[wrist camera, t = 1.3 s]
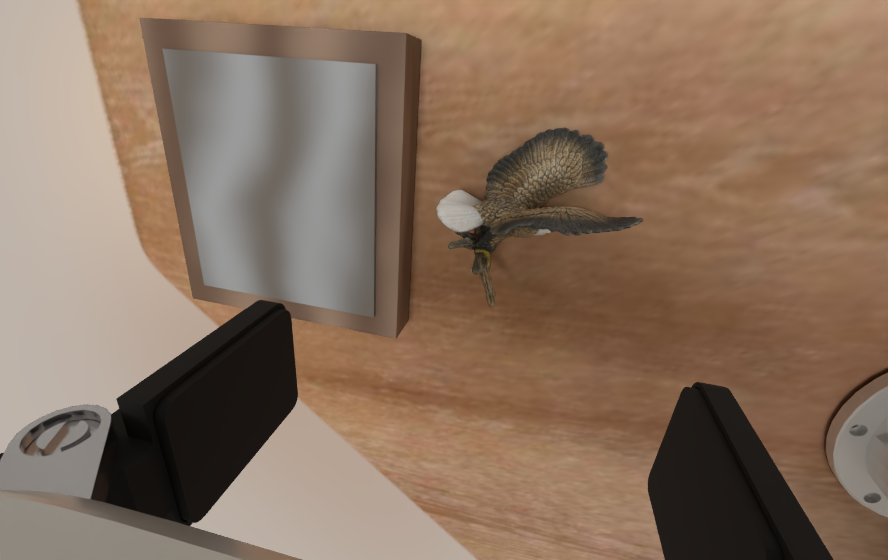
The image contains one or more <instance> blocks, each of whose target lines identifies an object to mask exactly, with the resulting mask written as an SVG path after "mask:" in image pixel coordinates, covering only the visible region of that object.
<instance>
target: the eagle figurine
mask: <svg viewBox="0 0 888 560" xmlns="http://www.w3.org/2000/svg"><path fill="white" fill-rule="evenodd" d="M603 149H604V144H603V143H601V142H595V141H594V137H593V136H591V135H583V136H579V131H577V130H574V131H571V132H570V131H569V129H567V128H557V129H555V130H550V129H549V130H547V131H546V132H544V133H539V134H537V136H536V137H535V138H532V139H531V140H529V141H527V142H526V143H525V144H524V145H523V147H519V148H518V149H517V150H515V151H513V152H512V153H511V154H510V155H509V156H505V157H504V158H502V159H500V160H499V161H498V163H496V164H495V165H494V167H493V169H492V170H491V171H490V172H489V173H488V177H487V179H486V180H487V182H488V184H487V186H486V190H487V191H488V192H487V193H486V194H485V199H486V200H484V201H481V200H479V199H477V198H475V197H473V196H471V195H470V194H468V193H467V192H465V191H463V190H455V191H452V192H451V193H450V194H448V195H447V196H446V197H444V198H442V199H441V200H440V202H439V205H438V206H437V207H436V210H437V216H438V218H439V219H440V220H441V221H442V223H443V224H444V225H445V226H447V227H448V228H449V229H451V230H453V231H455V232H456V234H458V235H460V236H462V237H463V238H464V239H462V240H459V241H455V242H451V243H450V244H449V246H448V247H449V248H450V249H452V248H457V247H465V248H468V249H470V250H473V249H474V253H475V261H474V264H473V267H472V272H473V273H474V274H480V277H481V280H482V282H483V285H484V288H485V291H486V298H487V302H488V305H489V307H493V305H494V302H495V291H494V288H493V285H492V280H491V276H490V273H489V269H490V266H491V253H492V252H493V251H494V250H495V248H496V244H497V243H498V242H500V241H501V240H503V239H505V238H507V237H510V236H515V237H527V236H533V235H544V234H547V235H548V234H550V232H553V231H559V232H560V233H562V234H564V235H572V234H573V235H581V233H586V234H590V233H600V232H610V231H620V230H623V229H626V228H630V227H631V226H633V225H637V224H639V223H640V222H642V221H643V220H644V219H642V218H636V217H620V218H610V217H605V216H602V215H600V214H598V213H595V212H592V211H590V210H587V209H583V208H580V207H557V206H556V207H544V208H539V207H540V206H541V205H542V204H544V203H545V202H547V201H548V200H549V199H551V198H553V197H555V196H557V195H560V194H562V193H564V192H566V191H569V190H571V189H575V188H581V187H586V186H590V185H595V184H597V183H600V182H602V181H603V180H604V176H603V173H604V172H605V171H606V169H607V166H606V164H605V163H604V161H605V160H606V159H607V157H608V153H607V152H605V151H604V150H603ZM479 226H481V227H480V228H477V227H479ZM472 229H474V234H473V233H469V232H467V231H470V230H472Z"/></svg>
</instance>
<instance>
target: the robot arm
mask: <svg viewBox="0 0 888 560" xmlns="http://www.w3.org/2000/svg"><path fill="white" fill-rule="evenodd" d="M297 397H298V391H297V379H296V368H295V356H294V345H293V333H292V322H291V314H290V312H289V311H288V310H286V308H285V306H284V305H283V304H282V303H276V302H271V301H266V300H258V301H256V302H255V303H253V304H252V305H251V306H249V307H248V308H246V309H245V310H243V311H242V312H241V313H239V314H238V315H236V316H235V317H233V318H232V319H230V320H229V321H228V322H226V323H225V324H223V325H222V326H220V327H219V328H218V329H217V330H215V331H213V332H212V333H210V334H209V335H207V336H206V337H205V338H203V339H202V340H201V341H199V342H197V343H196V344H195V345H193V346H192V347H190V348H189V349H187V350H186V351H185V352H183V353H182V354H180V355H179V356H177V357H176V358H174V359H173V360H172V361H170V362H169V363H167V364H166V365H165V366H163V367H162V368H160V369H159V370H157V371H156V372H155V373H153V374H151V375H150V376H149V377H147V378H146V379H144V380H143V381H141V382H140V383H139V384H137V385H136V386H134V387H133V388H131V389H130V390H128V391H127V392H126V393H124V394H123V395H121V396H120V397H118V398H117V402H118V405H119V409H118V410H117V411H116V412H114V413H113V414H111V413H110V412H109V411H108V410H107V409H106V408H104V407H101V406H98V405H79V406H72V407H68V408H64V409H61V410H57V411H55V412H52V413H50V414H47V415H45V416H43V417H41V418H39V419H37V420H35V421H34V422H32V423H30V424H29V425H27V426H26V427H24V428H23V429H22V430H21V431H19V432H18V433H17V434H16V435H15V436H14V438H13V439H12V440H11V442H10V443H9V445H8V447H7V448H6V450H5V452H4V453H1V454H0V560H301V559H298V558H294V557H291V556H288V555H285V554H281V553H277V552H274V551H271V550H268V549H264V548H261V547H258V546H254V545H251V544H248V543H244V542H241V541H238V540H234V539H231V538H228V537H224V536H221V535H217V534H214V533H211V532H207V531H204V530H201V529H197V528H194V527H191V526H190V525H191V524H192V523H195V522H198V521H200V520H201V519H202V518H203V517H204V516H205V515H206V513H208V511H209V510H210V509H211V508H212V506H213V505H214V504H215V503H216V502H217V500H218V499H219V498H220V497H221V495H222V494H223V493H224V492H225V491H226V489H227V488H228V487H229V486H230V485H231V483H232V482H233V481H234V480H235V479H236V477H237V476H238V475H239V474H240V472H241V471H242V470H243V469H244V468H245V466H246V465H247V464H248V463H249V462H250V460H251V459H252V458H253V457H254V456H255V454H256V453H257V452H258V451H259V449H260V448H261V447H262V446H263V444H264V443H265V442H266V441H267V440H268V439H269V437H270V436H271V435H272V434H273V433H274V431H275V430H276V429H277V427H278V426H279V425H280V424H281V423H282V421H283V420H284V419H285V418H286V417H287V415H288V414H289V413H290V412H291V410H292V409H293V408H294V406H295V404H296V401H297ZM826 454H827V459H828V463H829V466H830V468H831V469H832V471H833V473H834V475H835V476H836V478H837V479H838V481H839V482H840V483H841V484H842V486H843V487H844V488H845V489H846V491H847V492H848V493H849V495H851V496H852V497H853V498H854V499H855V500H856V501H857V502H859V503H860V504H861V505H863V506H865V507H866V508H868V509H870V510H872V511H873V512H875V513H877V514H879V515H881V516H884V517H887V518H888V373H886V374H884V375H882V376H880V377H878V378H876V379H874V380H873V381H871V382H870V383H869V384H867V385H866V386H864V387H863V388H861V389H860V390H859V391H857V392H856V393H855V394H854V395H853V396H852V397H851V398H850V399H849V400H848V401H847V402H846V403H845V404H844V405H843V406H842V407H841V409H840V410H839V412H838V413H837V415H836V416H835V418H834V419H833V421H832V423H831V426H830V428H829V431H828V434H827V438H826ZM648 492H649V497H650V501H651V505H652V509H653V513H654V517H655V521H656V525H657V529H658V533H659V537H660V541H661V545H662V549H663V553H664V558H665V560H833V558H832V557H831V555H830V553H829V552H828V550H827V548H826V547H825V545H824V544H823V542H822V540H821V539H820V537H819V535H818V534H817V532H816V530H815V529H814V527H813V526H812V524H811V522H810V521H809V519H808V517H807V516H806V514H805V512H804V511H803V509H802V508H801V506H800V504H799V503H798V501H797V499H796V498H795V496H794V494H793V493H792V491H791V490H790V488H789V486H788V485H787V483H786V481H785V480H784V478H783V476H782V475H781V473H780V472H779V470H778V468H777V467H776V465H775V463H774V462H773V460H772V458H771V457H770V455H769V454H768V452H767V450H766V449H765V447H764V445H763V444H762V442H761V440H760V439H759V437H758V436H757V434H756V432H755V431H754V429H753V427H752V426H751V424H750V422H749V421H748V419H747V417H746V416H745V414H744V413H743V411H742V409H741V408H740V406H739V404H738V403H737V401H736V399H735V398H734V396H733V395H732V393H731V391H730V390H729V389H728V388H726V387H722V386H716V385H711V384H706V383H700V382H696V383H694V384H693V385H692V387H684V389H683V390H682V392H681V394H680V397H679V399H678V402H677V405H676V407H675V410H674V412H673V415H672V417H671V420H670V423H669V425H668V428H667V430H666V433H665V436H664V438H663V441H662V443H661V446H660V448H659V451H658V454H657V456H656V459H655V461H654V464H653V467H652V469H651V472H650V474H649V478H648Z"/></svg>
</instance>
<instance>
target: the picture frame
mask: <svg viewBox="0 0 888 560" xmlns="http://www.w3.org/2000/svg"><path fill="white" fill-rule="evenodd" d="M139 19H140V24H141V29H142V35H143V40H144V45H145V50H146V56H147V61H148V66H149V71H150V76H151V82H152V87H153V92H154V97H155V102H156V108H157V113H158V118H159V123H160V129H161V134H162V139H163V144H164V149H165V155H166V160H167V165H168V170H169V176H170V181H171V186H172V191H173V196H174V202H175V207H176V212H177V217H178V222H179V228H180V233H181V238H182V243H183V249H184V254H185V259H186V264H187V269H188V275H189V280H190V285H191V290H192V296H193V298H194V299H199V300H204V301H209V302H214V303H219V304H224V305H229V306H234V307H239V308H244V309H246V308H248V307H249V306H251V305H252V304H253V303H255V302H256V301H258V300H266V301H271V302H276V303H282V304H283V305H284V306H285V308H286V310H288V311H289V312H290V314H291V318H295V319H300V320H305V321H310V322H315V323H320V324H325V325H330V326H335V327H340V328H345V329H350V330H355V331H360V332H365V333H370V334H375V335H380V336H385V337H390V338H395V339H396V338H397V337H398V335H399V334H400V332H401V331H402V329H403V327H404V326H405V324H406V323H407V321H408V319H409V297H410V275H411V254H412V232H413V211H414V189H415V167H416V146H417V124H418V102H419V81H420V59H421V40H420V39H418V38H416V37H414V36H411V35H409V34H407V33H394V32H377V31H360V30H342V29H325V28H308V27H291V26H274V25H257V24H240V23H222V22H205V21H188V20H171V19H154V18H139Z"/></svg>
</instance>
